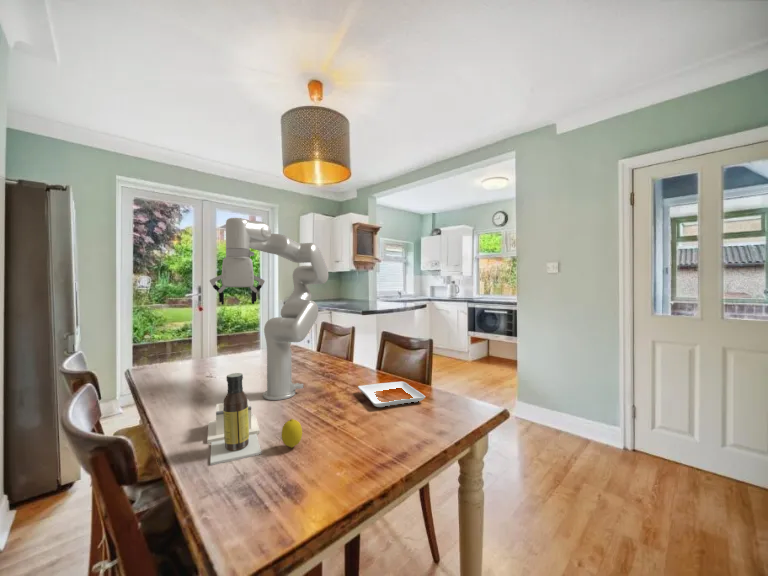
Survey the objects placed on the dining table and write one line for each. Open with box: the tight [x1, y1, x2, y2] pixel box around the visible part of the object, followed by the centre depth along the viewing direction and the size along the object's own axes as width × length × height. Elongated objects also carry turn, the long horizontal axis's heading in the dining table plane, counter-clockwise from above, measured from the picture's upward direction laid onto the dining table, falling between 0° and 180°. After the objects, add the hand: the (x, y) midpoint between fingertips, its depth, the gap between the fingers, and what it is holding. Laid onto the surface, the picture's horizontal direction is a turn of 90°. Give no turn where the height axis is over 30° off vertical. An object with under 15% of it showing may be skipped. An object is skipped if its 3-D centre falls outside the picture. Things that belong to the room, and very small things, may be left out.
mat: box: [209, 434, 262, 466], centre depth 91 cm, size 12×12×1 cm
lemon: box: [281, 418, 303, 449], centre depth 91 cm, size 6×6×8 cm
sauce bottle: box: [223, 372, 249, 451], centre depth 91 cm, size 6×6×20 cm
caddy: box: [206, 399, 261, 444], centre depth 103 cm, size 14×14×8 cm
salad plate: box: [357, 381, 426, 408], centre depth 131 cm, size 21×21×3 cm
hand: (238, 304), depth 114 cm, fingers open, 9 cm apart
